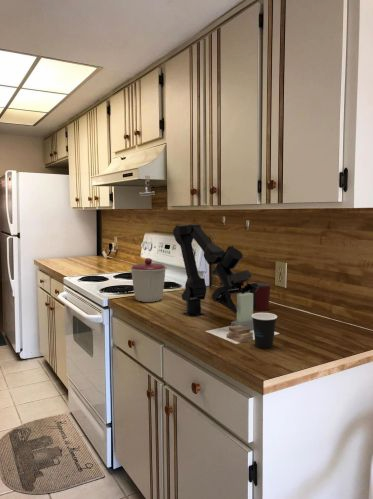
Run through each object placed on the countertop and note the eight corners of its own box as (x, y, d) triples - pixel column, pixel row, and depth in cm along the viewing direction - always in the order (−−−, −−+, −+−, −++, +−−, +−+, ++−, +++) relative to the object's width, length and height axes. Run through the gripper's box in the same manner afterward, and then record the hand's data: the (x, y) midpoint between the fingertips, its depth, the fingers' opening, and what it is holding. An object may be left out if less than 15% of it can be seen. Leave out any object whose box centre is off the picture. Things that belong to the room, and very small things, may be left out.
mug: (242, 306, 188) (242, 282, 187) (258, 304, 192) (258, 281, 191) (257, 312, 177) (257, 287, 176) (274, 310, 181) (274, 285, 180)
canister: (124, 299, 204) (123, 257, 202) (154, 295, 215) (154, 255, 213) (142, 306, 190) (141, 261, 188) (174, 301, 200) (173, 258, 198)
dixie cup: (277, 346, 132) (277, 313, 131) (276, 354, 124) (276, 319, 123) (252, 344, 134) (252, 311, 133) (250, 352, 126) (250, 318, 125)
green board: (236, 330, 146) (236, 294, 145) (249, 327, 150) (249, 292, 148) (240, 331, 145) (240, 295, 143) (252, 328, 148) (253, 293, 147)
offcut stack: (226, 337, 138) (226, 327, 138) (239, 334, 141) (239, 324, 141) (240, 343, 132) (240, 332, 132) (254, 339, 135) (254, 329, 135)
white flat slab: (205, 334, 146) (205, 322, 145) (247, 325, 156) (247, 314, 156) (236, 347, 131) (236, 334, 131) (279, 336, 142) (280, 325, 142)
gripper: (216, 265, 144) (236, 301, 136) (255, 261, 154) (276, 294, 146) (203, 283, 151) (222, 319, 143) (241, 279, 161) (261, 311, 153)
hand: (246, 310), depth 146 cm, fingers open, 9 cm apart
